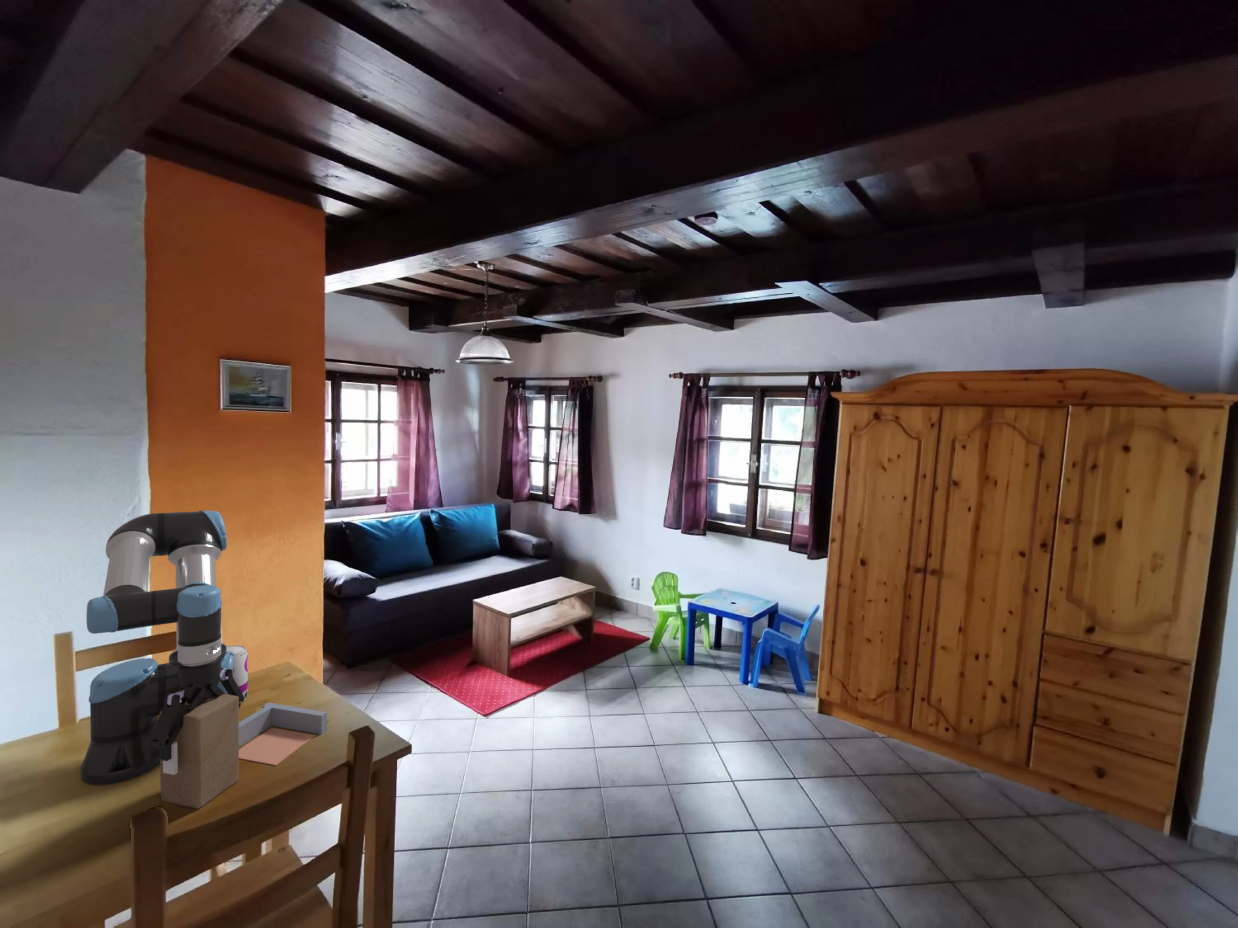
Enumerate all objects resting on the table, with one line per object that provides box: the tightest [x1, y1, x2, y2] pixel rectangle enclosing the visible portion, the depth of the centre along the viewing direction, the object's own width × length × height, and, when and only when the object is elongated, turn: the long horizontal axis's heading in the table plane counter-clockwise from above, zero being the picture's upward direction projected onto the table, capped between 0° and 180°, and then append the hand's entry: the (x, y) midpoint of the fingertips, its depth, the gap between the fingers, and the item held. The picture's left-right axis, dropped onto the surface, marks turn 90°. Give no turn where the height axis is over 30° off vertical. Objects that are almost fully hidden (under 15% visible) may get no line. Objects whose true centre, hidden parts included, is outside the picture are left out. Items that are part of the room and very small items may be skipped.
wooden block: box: [159, 694, 240, 809], centre depth 122 cm, size 10×10×20 cm
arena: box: [239, 701, 328, 766], centre depth 141 cm, size 18×18×5 cm
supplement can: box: [226, 645, 249, 704], centre depth 159 cm, size 8×8×15 cm
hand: (200, 753), depth 122 cm, fingers open, 13 cm apart
